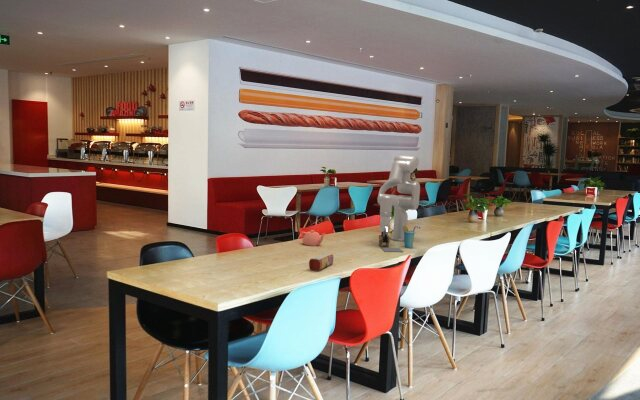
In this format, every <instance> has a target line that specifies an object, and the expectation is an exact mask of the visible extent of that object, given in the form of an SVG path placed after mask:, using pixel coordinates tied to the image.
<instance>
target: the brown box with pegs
mask: <svg viewBox="0 0 640 400" xmlns="http://www.w3.org/2000/svg"><path fill="white" fill-rule="evenodd" d="M390 240H391V237H390V235H388V242H387V243H384V244H385V245H384V246H385V247H386V248H390ZM378 246H379V247H380V248H381V247H383V235H381V234H379V235H378Z"/></svg>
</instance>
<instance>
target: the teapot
mask: <svg viewBox="0 0 640 400" xmlns="http://www.w3.org/2000/svg"><path fill="white" fill-rule="evenodd" d="M300 235H301V238H302V244H303V246H308V247H318V246H320V245H321V243H322V242H323V240H324V237H325V235H326V232H323V233H322V234H321V236H320V233H319V232H317V231H315V229H311V230H310V231H307V232H306V231H301V233H300Z"/></svg>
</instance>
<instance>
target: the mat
mask: <svg viewBox="0 0 640 400" xmlns="http://www.w3.org/2000/svg"><path fill="white" fill-rule="evenodd" d="M381 248H382V251H383V252H384V253H385V252H386V253H387V252H388V253H404V250H402V249H401V248H400V247H384V246H382V247H380V249H381Z"/></svg>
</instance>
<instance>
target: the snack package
mask: <svg viewBox="0 0 640 400" xmlns="http://www.w3.org/2000/svg"><path fill="white" fill-rule="evenodd" d="M332 264H334V254H332V253H330V252H324V253H322V254H319V255H317V256H315V257H312V258H310V259H309V262H308V266H309V270H310V271H315V272H319V271H321V270H323V269H325V268H326V267H329V266H331V265H332Z"/></svg>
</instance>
